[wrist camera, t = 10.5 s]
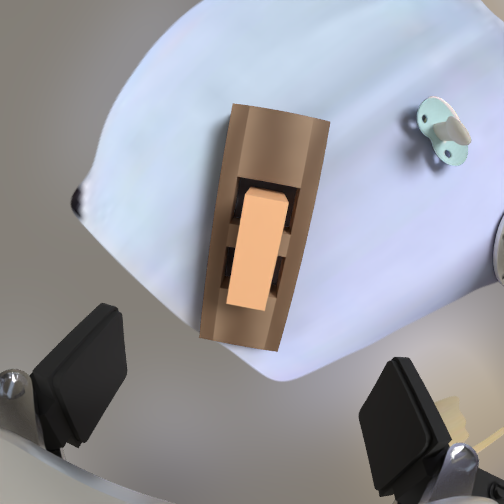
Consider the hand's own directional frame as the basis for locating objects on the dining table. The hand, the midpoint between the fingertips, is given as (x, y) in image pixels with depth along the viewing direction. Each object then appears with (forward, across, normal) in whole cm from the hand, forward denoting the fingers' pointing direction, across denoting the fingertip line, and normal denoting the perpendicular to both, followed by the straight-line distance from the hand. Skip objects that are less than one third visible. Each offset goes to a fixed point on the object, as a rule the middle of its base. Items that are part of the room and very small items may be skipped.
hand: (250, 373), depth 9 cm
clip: (+19, +1, 0) cm, 19 cm away
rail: (+19, +1, 0) cm, 19 cm away
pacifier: (+20, -16, -15) cm, 29 cm away
